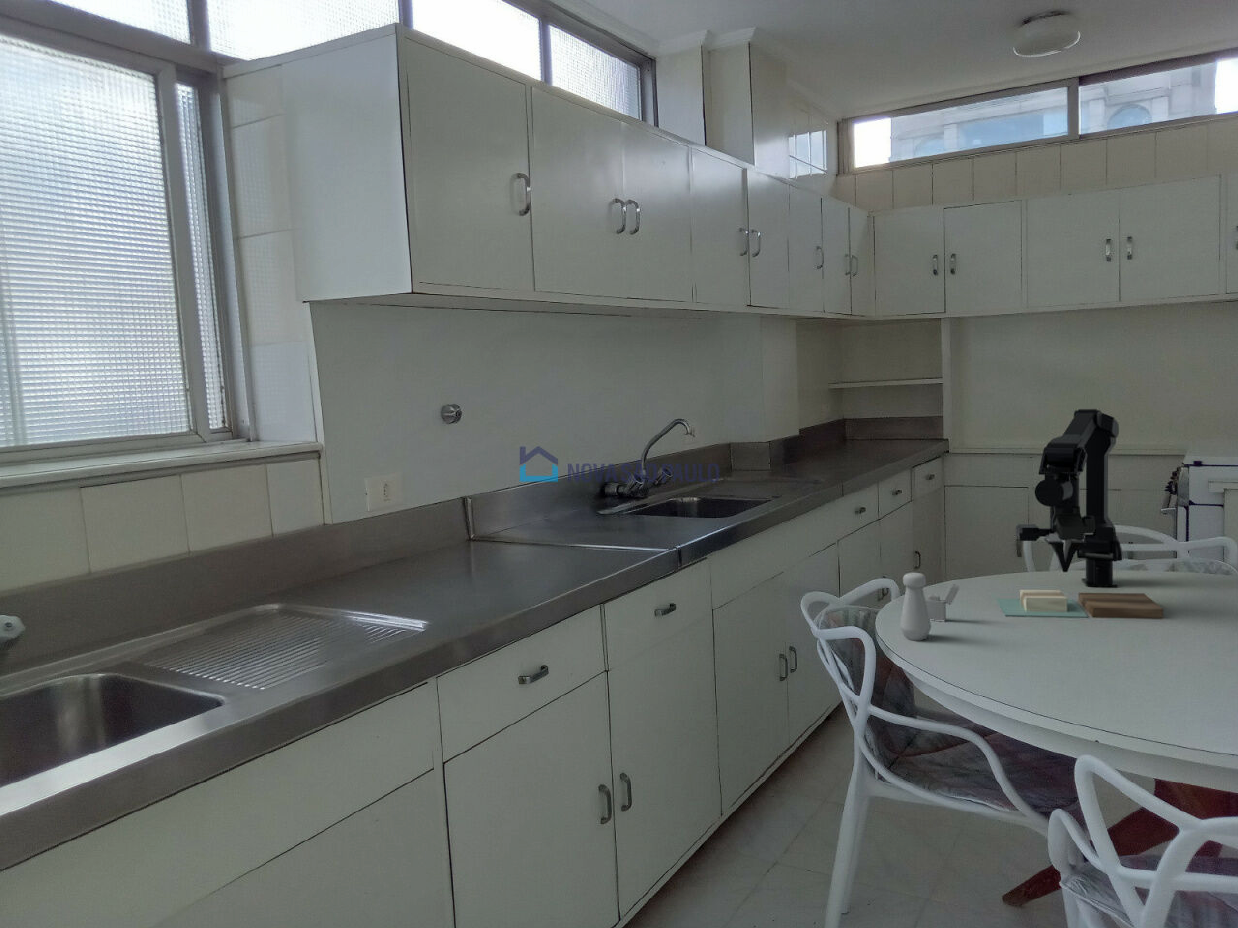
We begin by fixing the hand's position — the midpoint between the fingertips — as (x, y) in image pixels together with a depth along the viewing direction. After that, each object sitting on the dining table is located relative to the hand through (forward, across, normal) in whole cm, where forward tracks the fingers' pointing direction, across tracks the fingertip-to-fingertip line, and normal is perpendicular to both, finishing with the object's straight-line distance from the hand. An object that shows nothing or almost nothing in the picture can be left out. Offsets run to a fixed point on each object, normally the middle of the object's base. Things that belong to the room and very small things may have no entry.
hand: (1064, 571), depth 193 cm
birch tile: (+8, -4, 0) cm, 9 cm away
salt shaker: (+8, -32, -24) cm, 41 cm away
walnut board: (+8, +11, 0) cm, 13 cm away
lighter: (+8, -26, -11) cm, 29 cm away
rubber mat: (+8, -5, 0) cm, 10 cm away
